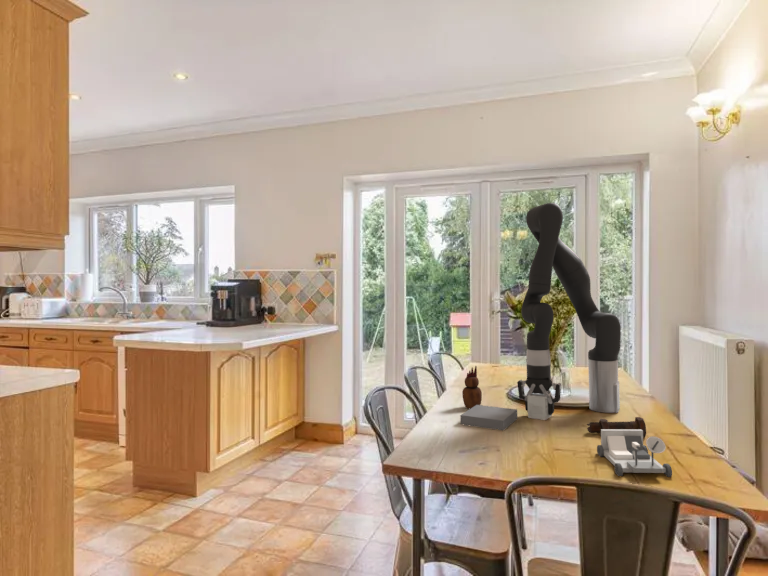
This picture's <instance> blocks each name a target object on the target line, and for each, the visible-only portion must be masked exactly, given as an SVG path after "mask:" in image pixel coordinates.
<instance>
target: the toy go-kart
mask: <svg viewBox="0 0 768 576" xmlns="http://www.w3.org/2000/svg"><path fill="white" fill-rule="evenodd" d="M645 444H646V445H645ZM645 444H644V437H643V430H641V429H601V433H600V444H597V445H596V453H597V455H598V456H599V457H600V458H604V457H605V458H606V459H607V460H608V461H609V462H610V463H611V464H612V465H613V466H614V472H615V475H617V476H618V477H619V476H622V477H623V475H624V473H635V474H636V473H637V474H641V473H642V474H643V473H644V474H646V473H647V474H651V473H653V474H663V475H664V476H666V478H667V477H668V478H672V476H673V470H672V467H671V465H670V464H669V463H663V465H662V464H661V463H660V462H658V461H657V460H656V459H655V458H654V454H661V453H664V452H665V451H666V444H665V442H664V441H663V439H661V437H660V438H659V437H658V436H649V437H648V438H646V441H645ZM649 451H650V452H651V453H650V454H649Z"/></svg>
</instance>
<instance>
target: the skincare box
mask: <svg viewBox="0 0 768 576" xmlns="http://www.w3.org/2000/svg"><path fill="white" fill-rule="evenodd" d="M527 399H528V412H527V417H528V418H529V419H533V420H534V419H535V420H542V421H547V420H548V419H549V418H551V417H552V416H553V414H552V415H549V412H548V404H549V402H548V399H547V397H545V395H544V394H539V393H537V394H534V393H533V394H532V395H528V396H527Z"/></svg>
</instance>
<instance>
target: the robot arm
mask: <svg viewBox="0 0 768 576" xmlns="http://www.w3.org/2000/svg"><path fill="white" fill-rule="evenodd" d="M563 215H564V213H563V210H562V208H561V207H560V205H558V204H557V203H554V202H546V203H544V204H541V205H537V206H533V207H532V208H530V209H529V210H528V211H527V213H526V215H525V216H526V217H525V221H526V225H527V227H528V230H529V231H530V233H531V234H532V235H533V237H534V238H535V240H536V241H537V243H538V245H537V250H536V251H535V254H534V257H533V258H532V262H531V264H530V268H529V272H528V273H529V274H528V275H529V276H528V285H527V287H528V288H527V291H526V293H525V294H524V295H525V296H524V298H523V302H522V305H521V312H520V313H521V316H522V319H523V320H524V321H525V322H526V323H528V324H534V329H533V330H530V331H528V332H527V334H526V357H525V358H526V359H525V362H526V380H525V379H524V380H522V379H520V380H518V381H517V390H518V397H519V399H520V400H523V401H524V402H525V403H524V405H525V406H524V408H525V411H527V413H528V399H527V396H528V395H532V394H533V393H534V394H537V393H539V394H544V395H545V397H547V399H548V402H549V404H548V412H549V415H552V416H553V414H554V412H555V404H556V403H559V402H560V401H561V392H562V383H560V382H557V383H556V382H553V381H552V379H551V378H552V377H551V376H552V372H551V353H550V334H551V332H552V327H553V326H552V325H553V322H554V311H553V310H554V309H553V308H552V306H551V305H550V304H549V303H547V302H541V301H542V298H543V297H544V296H547V295H549V294H550V293H551V287H552V286H551V284H552V277H553V276H552V275H553V270H554V272H555V274H556V276H557V278H558V280H559V282H560V284H561V285H562V287H563V289H564V291H565V293H566V295H567V297H568V298H569V300H570V303H571V304H572V306H573V307H574V310H575V312H576V315H577V317H578V320H579V323H580V324H581V327H582V330H583V331H584V333H585V334H586V335H587V336H588V337H590V338H592V339H595V344H594V348H592V349H590V350H588V352H587V359H588V360H587V362H588V363H587V364H588V397H589V401H588V402H589V403H588V405H589V410H590V411H593V412H597V413H598V412H599V413H606V414H608V413H609V414H610V413H619V411H620V409H621V406H620V405H621V404H620V403H621V402H620V399H621V398H620V397H621V395H620V381H619V359H618V357H619V353H620V351H621V336H622V335H621V333H622V332H621V329H622V327H621V322H620V320H619V318H618V317H617V316H616V315H615V314H613V313H611V312H602V311H600V310H599V308H598V307H597V305H596V303H595V301H594V300H593V297H592V293H591V277H590V275H589V272H588V270H587V268H586V266H585V264H584V262H583V260H582V259H581V258H580V256H578V255H577V253H576V252H574V251H573V250H572V249H571V248H570V247H569V246H568V245H567V244H565V242H563V240H562V239H561V238H560V233H561V229H562V225H563V219H564V217H563ZM525 386H527V388H528V390H527V393H526V395H525ZM551 388H552V389H553V390H554V397H553V395H552V392H551V391H550V389H551Z"/></svg>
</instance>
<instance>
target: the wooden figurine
mask: <svg viewBox="0 0 768 576" xmlns="http://www.w3.org/2000/svg"><path fill="white" fill-rule="evenodd" d="M477 368H478V367H477V365H475V366H474V368H473V367H471V370H469V372H467V373H466V377H465V378H464V385H465V387H463V389H462V392H461V394H462V401H463V404H464V406H465V408H466V409H468V410H469V409H471V408H472V407H474V406H475V405H482V397H483V394H482V389H481V388H480V387H479V385H480V384H479V383H480V381H479V378H478V376H477V375H478V374H477V373H478V372H477Z"/></svg>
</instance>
